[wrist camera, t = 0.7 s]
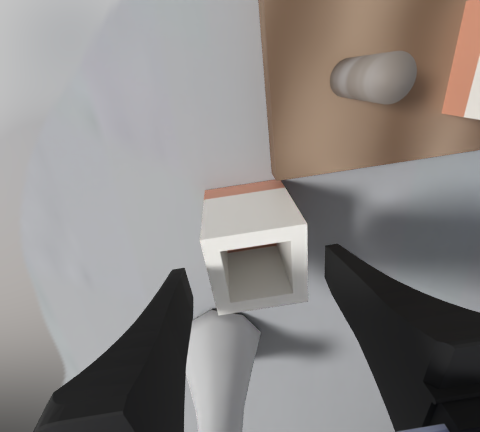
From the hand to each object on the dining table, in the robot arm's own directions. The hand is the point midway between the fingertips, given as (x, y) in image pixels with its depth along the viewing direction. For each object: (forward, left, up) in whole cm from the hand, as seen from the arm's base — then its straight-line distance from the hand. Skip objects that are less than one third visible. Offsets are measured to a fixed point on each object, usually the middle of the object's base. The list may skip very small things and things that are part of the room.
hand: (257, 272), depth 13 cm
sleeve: (0, 0, -6) cm, 6 cm away
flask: (+4, +12, -6) cm, 14 cm away
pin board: (-10, -8, -6) cm, 14 cm away
